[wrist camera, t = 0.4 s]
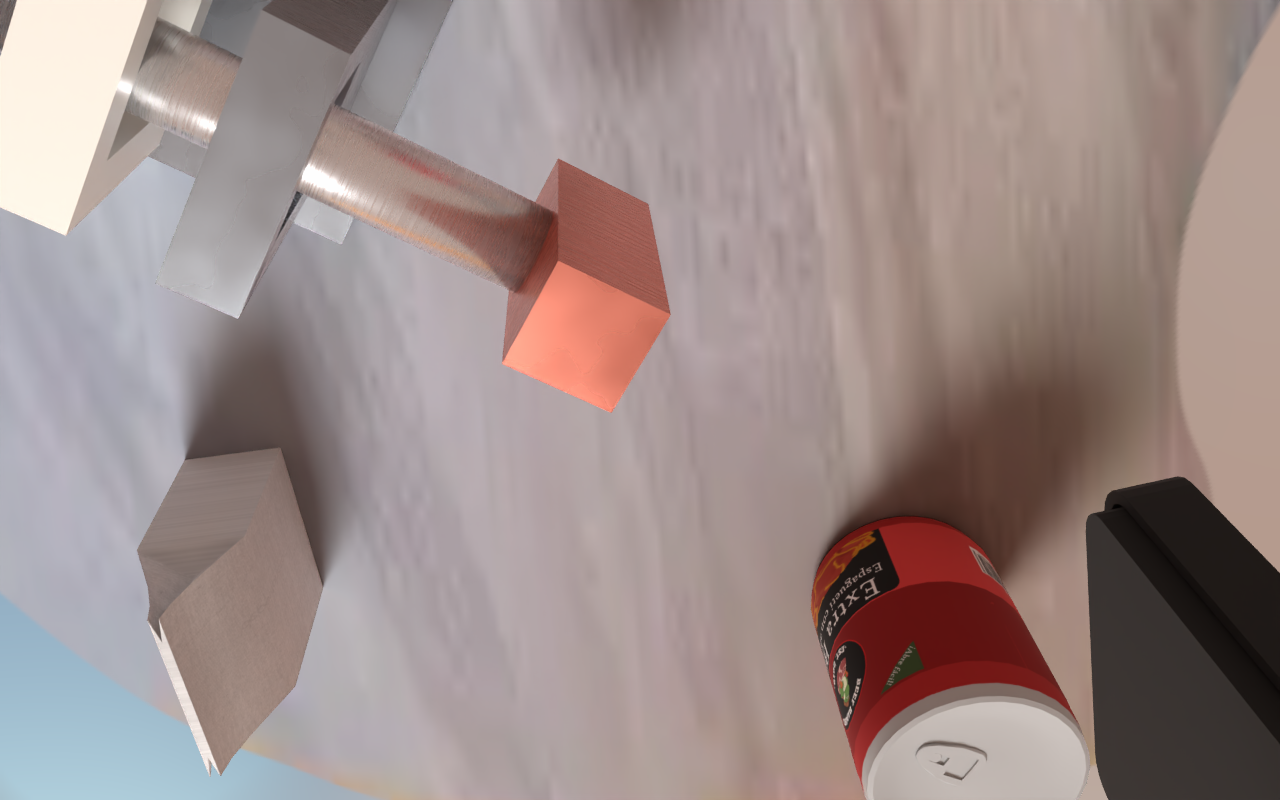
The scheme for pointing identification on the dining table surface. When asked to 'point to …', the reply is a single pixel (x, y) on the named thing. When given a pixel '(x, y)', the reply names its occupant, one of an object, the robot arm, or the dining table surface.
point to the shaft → (459, 222)
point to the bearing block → (284, 128)
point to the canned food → (940, 671)
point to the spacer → (76, 102)
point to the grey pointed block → (230, 593)
